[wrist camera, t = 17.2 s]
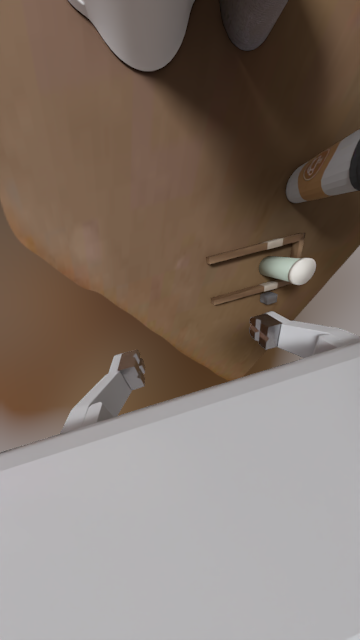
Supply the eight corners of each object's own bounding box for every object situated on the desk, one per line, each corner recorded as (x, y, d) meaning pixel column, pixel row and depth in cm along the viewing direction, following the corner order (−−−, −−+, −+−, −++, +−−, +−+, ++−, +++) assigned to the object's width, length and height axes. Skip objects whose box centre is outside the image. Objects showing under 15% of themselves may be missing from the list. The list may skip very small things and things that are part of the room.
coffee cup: (296, 151, 29) (415, 73, 16) (322, 171, 32) (444, 118, 19) (273, 199, 32) (357, 168, 19) (299, 215, 35) (388, 196, 22)
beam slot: (206, 256, 35) (210, 257, 33) (298, 233, 37) (309, 232, 34) (212, 314, 43) (216, 319, 41) (288, 293, 45) (296, 296, 42)
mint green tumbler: (258, 258, 38) (294, 261, 29) (277, 253, 38) (318, 255, 29) (257, 278, 41) (290, 287, 31) (275, 273, 41) (312, 281, 31)
